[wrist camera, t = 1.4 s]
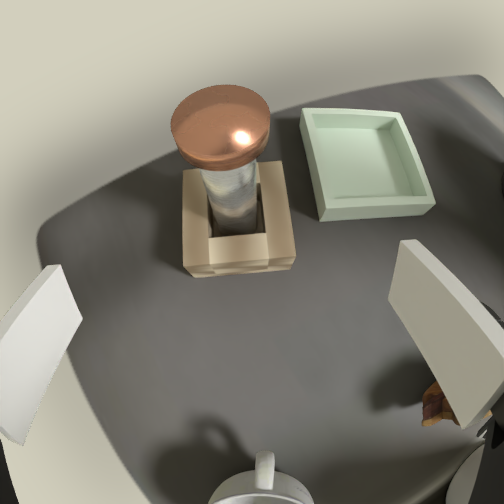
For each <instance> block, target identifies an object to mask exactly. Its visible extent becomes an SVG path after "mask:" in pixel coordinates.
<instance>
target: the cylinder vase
mask: <svg viewBox="0 0 504 504" xmlns="http://www.w3.org/2000/svg"><path fill="white" fill-rule="evenodd" d="M483 449H484V444H483V445H482V446H480V447H479V448H478V449H476V450H475V451H474V452H473V453H472V454H471V455H470V456H469V457H468V458H467V459H466V460H465V462H464V463H463V464H462V465H461V467H460V468H459V469H458V471H457V472H456V474H455V476H454V477H453V479H452V481H451V483H450V485H449V488H448V491H447V495H446V504H468V502H469V499H470V497H471V494H472V490H473V487H474V484H475V481H476V477H477V474H478V470H479V466H480V462H481V458H482V453H483Z"/></svg>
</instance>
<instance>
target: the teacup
mask: <svg viewBox="0 0 504 504" xmlns="http://www.w3.org/2000/svg"><path fill="white" fill-rule="evenodd" d="M274 463H275V458H274V453H273V452H271V451H259V452H257V453H256V463H255V470H252V471H246V472H242V473H239V474H236V475H234V476H232V477H230V478H228V479H227V480H225V481H224V482H223V483H222V484H221V485H220V486H219V487H218V488H217V489H216V490H215V492H214V493H213V495H212V497H211V498H210V500H209V502H208V504H314V502H313V499H312V497H311V495H310V493H309V491H308V490H307V489H306V488H305V486H304V485H303V484H302V483H301V482H299V481H298V480H297V479H295V478H293V477H291V476H289V475H287V474H284V473H281V472H277V471H274Z"/></svg>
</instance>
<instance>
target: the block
mask: <svg viewBox="0 0 504 504" xmlns="http://www.w3.org/2000/svg"><path fill="white" fill-rule="evenodd" d="M256 190H257V229H256V232H255V234H248V235H237V236H226V237H223V236H222V235H221V233H220V231H219V228H218V225H217V222H216V219H215V216H214V213H213V210H212V207H211V204H210V201H209V198H208V195H207V192H206V189H205V186H204V183H203V180H202V177H201V174H200V171H199V168H198V169H190V170H183V205H182V228H183V267H184V268H185V269H186V270H187V271H188V272H189V273H190V274H191V275H192V276H193V277H194V278H199V277H211V276H222V275H234V274H245V273H256V272H267V271H277V270H288V269H290V268H291V266H292V264H293V262H294V260H295V258H296V251H295V244H294V237H293V230H292V223H291V217H290V210H289V203H288V197H287V191H286V185H285V178H284V172H283V167H282V161H271V162H257V163H256Z"/></svg>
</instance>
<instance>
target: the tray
mask: <svg viewBox="0 0 504 504" xmlns="http://www.w3.org/2000/svg"><path fill="white" fill-rule="evenodd" d="M299 128H300V132H301V136H302V140H303V144H304V148H305V153H306V157H307V162H308V166H309V171H310V176H311V180H312V185H313V190H314V195H315V200H316V205H317V210H318V216H319V221H320V222H324V221H338V220H352V219H367V218H383V217H400V216H419V215H423V214H425V213H426V212H427V211H428V210H429V209H430V208H432V207H433V206H434V205H435V204H436V202H435V199H434V196H433V193H432V190H431V187H430V184H429V181H428V179H427V176H426V173H425V171H424V168H423V165H422V163H421V160H420V158H419V155H418V153H417V150H416V148H415V146H414V143H413V141H412V139H411V136H410V134H409V132H408V130H407V127H406V125H405V123H404V121H403V119H402V117H401V115H400V113H396V112H386V111H375V110H360V109H337V108H302V112H301V118H300V124H299Z"/></svg>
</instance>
